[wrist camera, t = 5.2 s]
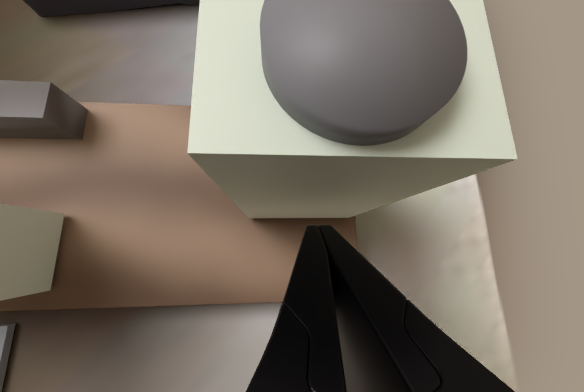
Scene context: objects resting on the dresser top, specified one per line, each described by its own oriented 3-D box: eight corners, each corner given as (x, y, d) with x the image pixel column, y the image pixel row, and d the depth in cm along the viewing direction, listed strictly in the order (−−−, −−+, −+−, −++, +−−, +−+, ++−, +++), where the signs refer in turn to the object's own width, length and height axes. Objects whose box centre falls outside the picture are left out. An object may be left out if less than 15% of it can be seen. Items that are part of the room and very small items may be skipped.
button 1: (348, 217, 14) (555, 145, 4) (248, 218, 14) (171, 136, 3) (344, 155, 15) (506, -45, 5) (249, 153, 14) (192, -74, 4)
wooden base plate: (351, 294, 15) (379, 311, 11) (-49, 306, 13) (-185, 332, 9) (341, 122, 17) (361, 87, 14) (1, 112, 16) (-90, 67, 12)
